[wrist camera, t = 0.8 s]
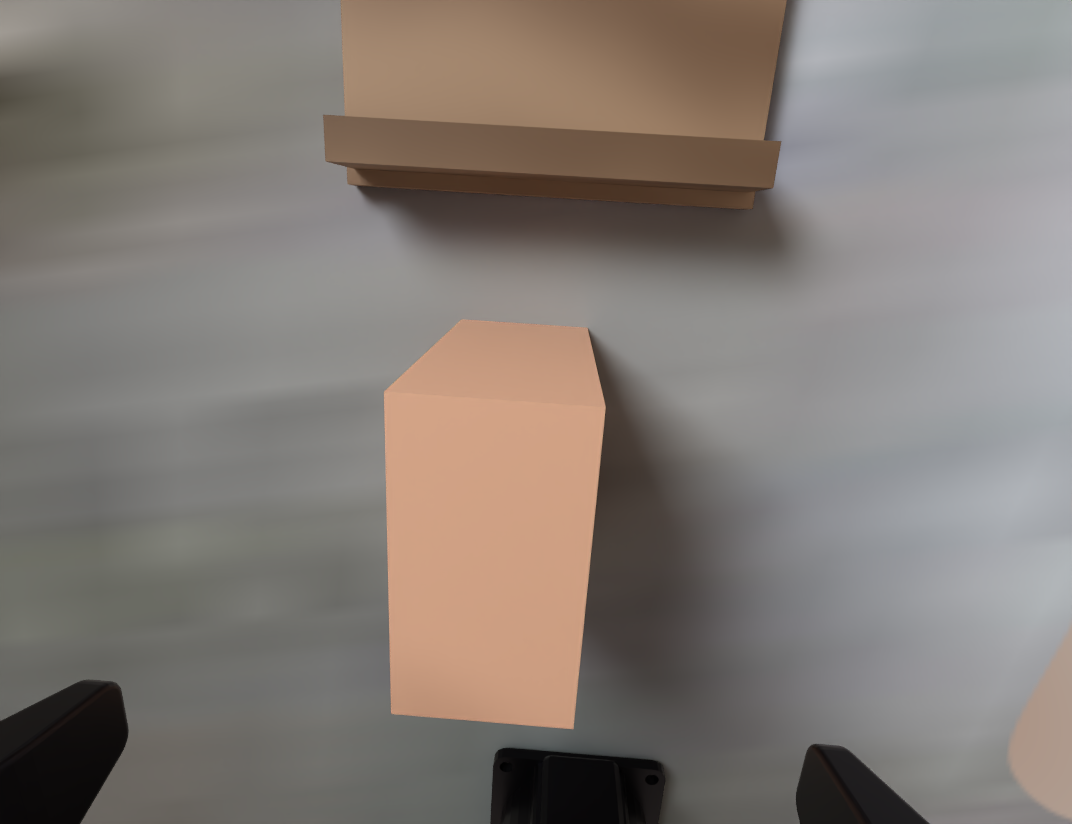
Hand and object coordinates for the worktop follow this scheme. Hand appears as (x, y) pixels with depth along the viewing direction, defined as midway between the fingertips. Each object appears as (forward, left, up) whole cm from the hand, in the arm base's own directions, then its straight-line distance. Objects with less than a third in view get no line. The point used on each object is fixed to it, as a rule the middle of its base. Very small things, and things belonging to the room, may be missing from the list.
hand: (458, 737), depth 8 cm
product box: (0, 0, -12) cm, 12 cm away
